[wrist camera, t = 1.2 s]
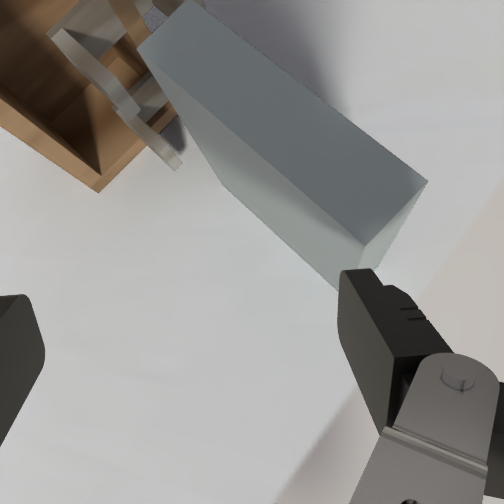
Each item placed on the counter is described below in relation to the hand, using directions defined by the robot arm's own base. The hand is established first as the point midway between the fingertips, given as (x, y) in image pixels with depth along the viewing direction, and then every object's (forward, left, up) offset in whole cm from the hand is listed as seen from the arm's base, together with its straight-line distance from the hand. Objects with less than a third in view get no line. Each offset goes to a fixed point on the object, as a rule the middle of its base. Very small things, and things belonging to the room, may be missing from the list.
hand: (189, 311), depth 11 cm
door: (-8, 0, -18) cm, 20 cm away
